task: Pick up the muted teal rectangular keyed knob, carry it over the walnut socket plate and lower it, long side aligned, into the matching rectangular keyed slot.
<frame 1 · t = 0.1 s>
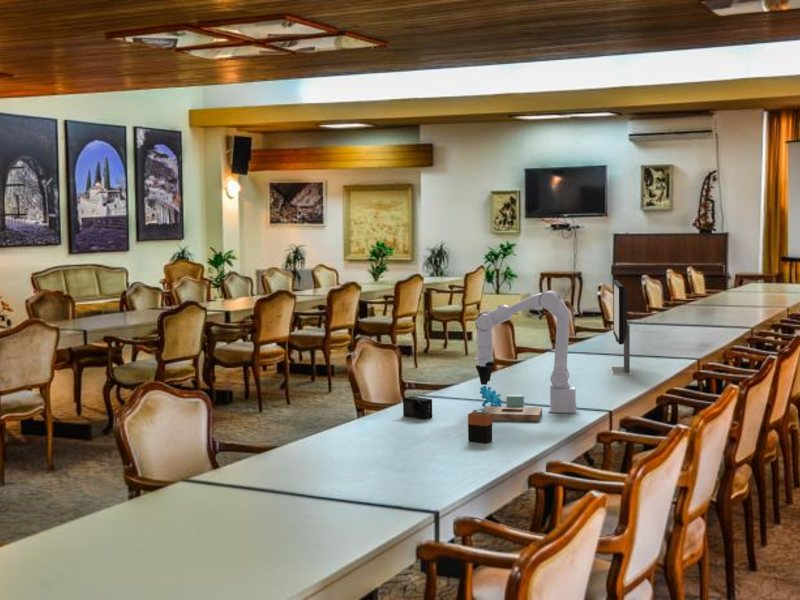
hand: (485, 382, 390), 10 cm above the table, fingers open, 7 cm apart
keyed socket: (512, 417, 375), on the table
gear: (491, 406, 397), on the table
computer monitor: (620, 371, 476), on the table
battery: (480, 442, 337), on the table
digital camera: (416, 418, 378), on the table
keyed knob: (515, 411, 386), on the table
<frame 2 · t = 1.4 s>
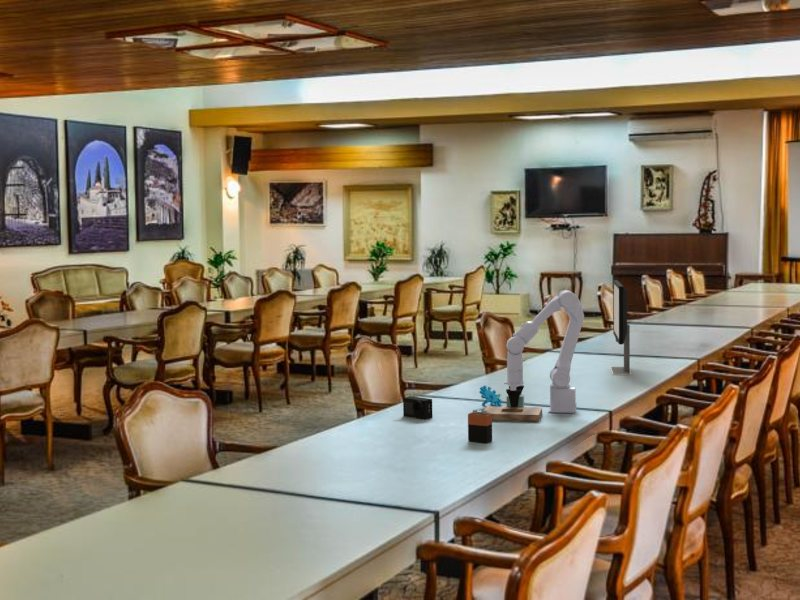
hand: (515, 406, 385), 2 cm above the table, fingers open, 6 cm apart
nothing on the table moved.
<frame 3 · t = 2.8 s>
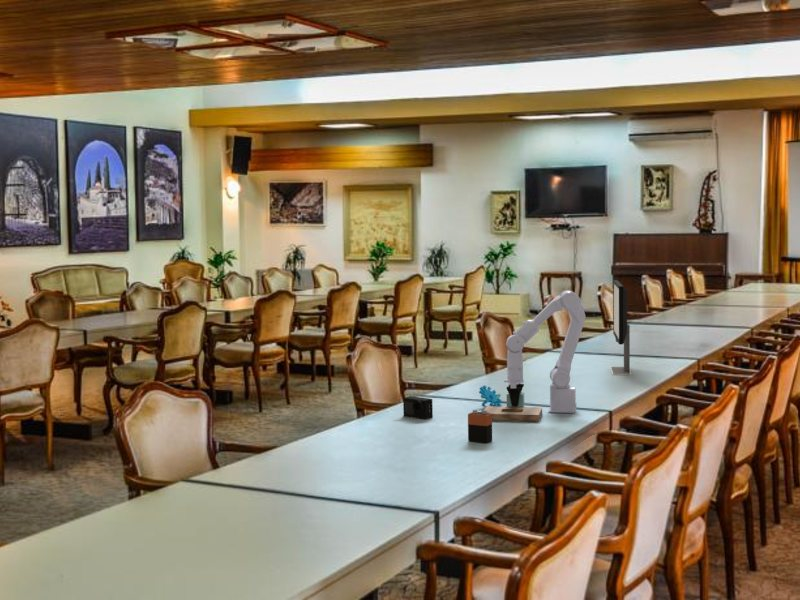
hand: (515, 404, 385), 2 cm above the table, fingers closed on keyed knob, 4 cm apart
keyed knob: (515, 409, 385), point 1 cm above the table, touching gripper
everything else where it was.
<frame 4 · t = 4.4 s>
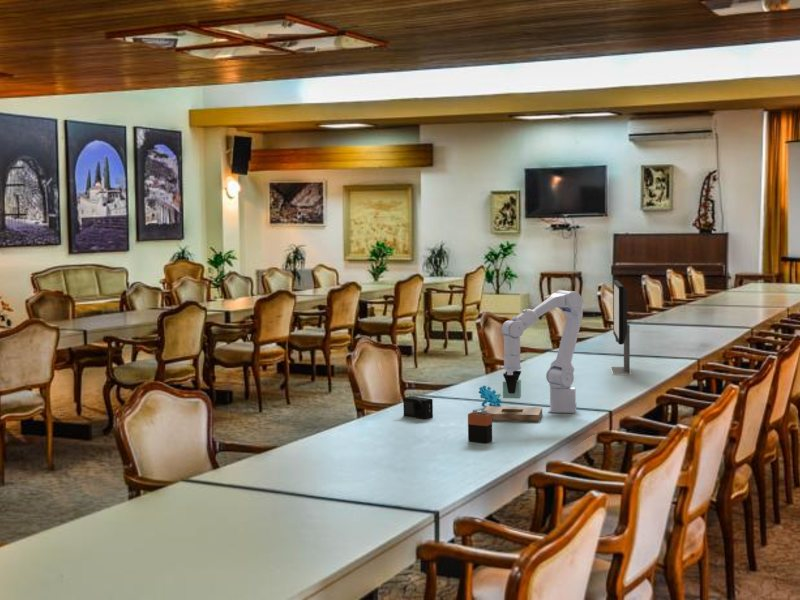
hand: (512, 392, 376), 9 cm above the table, fingers closed on keyed knob, 4 cm apart
keyed knob: (512, 397, 376), point 7 cm above the table, touching gripper
everything else where it was.
when the fingers open (3 cm above the table, at t = 6.7 s): keyed knob drops 1 cm, resting on keyed socket.
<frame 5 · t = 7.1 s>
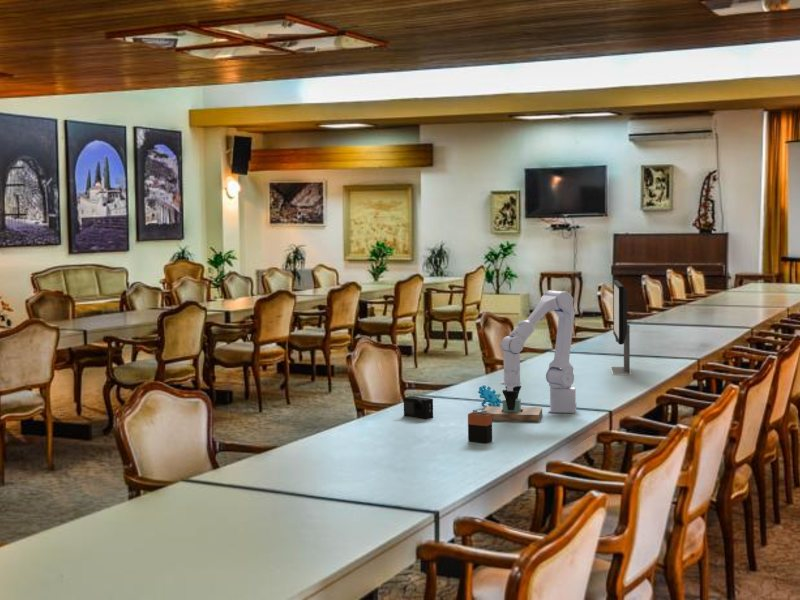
hand: (512, 408, 374), 3 cm above the table, fingers open, 7 cm apart
keyed knob: (511, 416, 375), resting on keyed socket
everything else where it was.
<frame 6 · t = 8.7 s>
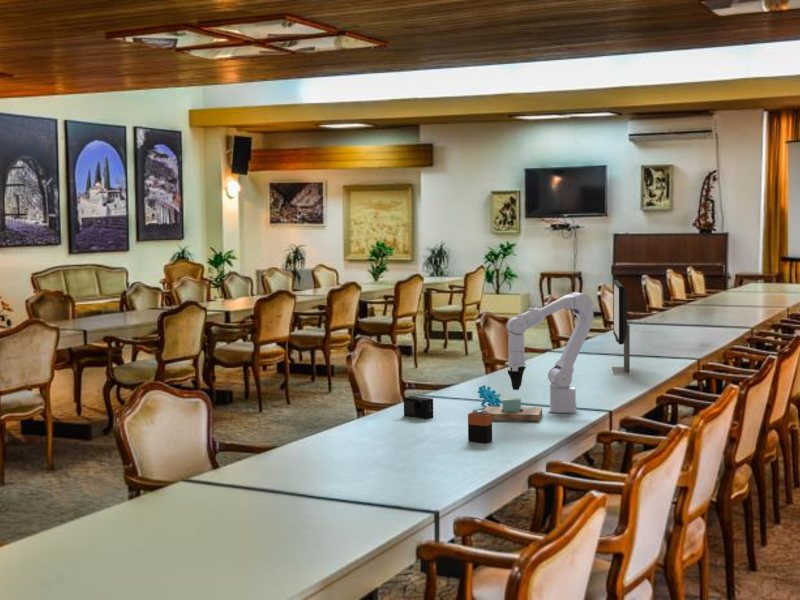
hand: (517, 388, 382), 9 cm above the table, fingers open, 7 cm apart
nothing on the table moved.
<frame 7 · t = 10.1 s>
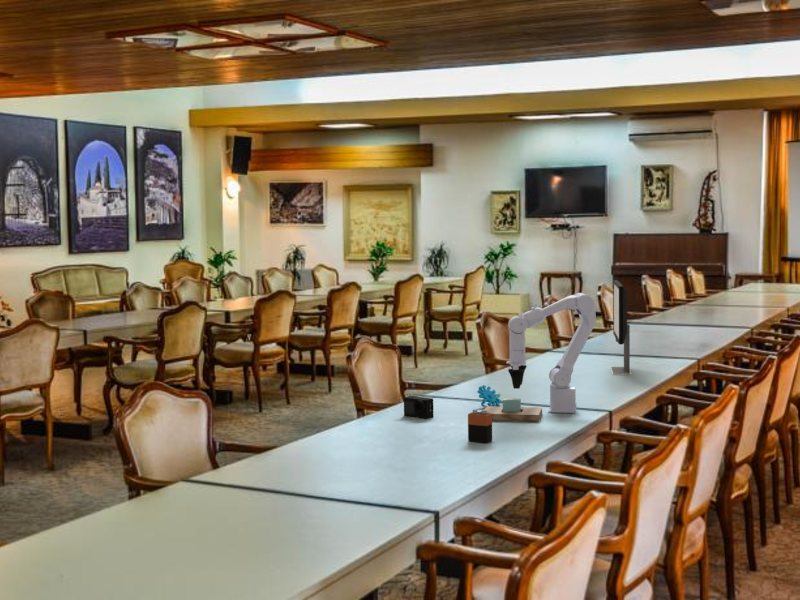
hand: (517, 386, 384), 9 cm above the table, fingers open, 7 cm apart
at the end: keyed knob 0.2 cm off-centre on the keyed socket, point 0.5 cm above the keyed socket's base; keyed knob tilted 0°; the gripper is holding nothing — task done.
